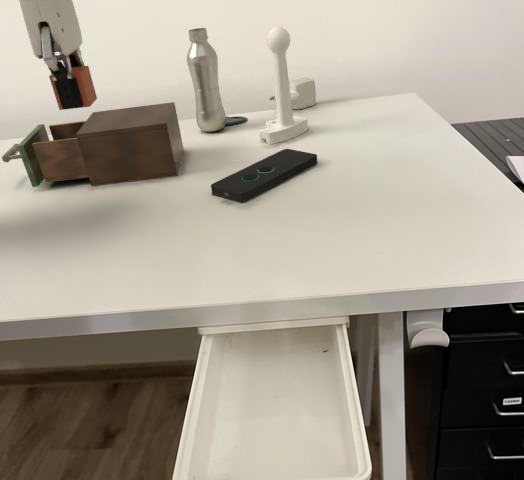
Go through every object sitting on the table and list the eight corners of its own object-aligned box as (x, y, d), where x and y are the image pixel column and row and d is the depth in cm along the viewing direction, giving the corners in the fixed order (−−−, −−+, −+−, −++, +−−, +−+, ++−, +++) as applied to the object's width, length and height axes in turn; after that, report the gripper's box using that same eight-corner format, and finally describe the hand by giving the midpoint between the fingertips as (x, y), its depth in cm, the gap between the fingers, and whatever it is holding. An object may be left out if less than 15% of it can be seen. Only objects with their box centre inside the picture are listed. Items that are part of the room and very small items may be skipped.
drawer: (6, 190, 105) (-11, 149, 100) (28, 165, 116) (13, 127, 111) (111, 177, 104) (100, 135, 99) (123, 154, 115) (113, 115, 110)
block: (59, 110, 84) (48, 76, 81) (67, 102, 87) (57, 69, 84) (90, 106, 83) (80, 72, 80) (97, 98, 87) (88, 65, 84)
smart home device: (208, 184, 94) (285, 147, 104) (209, 193, 95) (285, 156, 105) (242, 193, 89) (319, 153, 99) (243, 203, 90) (319, 163, 101)
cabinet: (91, 185, 104) (75, 134, 99) (106, 159, 116) (92, 112, 110) (177, 175, 104) (166, 123, 98) (183, 150, 115) (174, 102, 109)
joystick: (273, 145, 111) (263, 33, 99) (249, 139, 116) (237, 31, 104) (312, 129, 117) (306, 21, 104) (288, 124, 121) (279, 20, 109)
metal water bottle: (205, 125, 128) (189, 27, 115) (232, 125, 125) (218, 25, 113) (193, 134, 123) (175, 33, 111) (220, 135, 121) (204, 31, 108)
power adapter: (279, 117, 127) (277, 89, 123) (268, 113, 130) (265, 86, 127) (318, 105, 131) (317, 78, 127) (306, 102, 134) (305, 76, 131)
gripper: (30, -40, 81) (69, 92, 92) (-15, -32, 68) (37, 121, 79) (79, -47, 81) (112, 87, 92) (44, -40, 67) (88, 115, 78)
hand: (77, 101), depth 85 cm, fingers closed on block, 4 cm apart
